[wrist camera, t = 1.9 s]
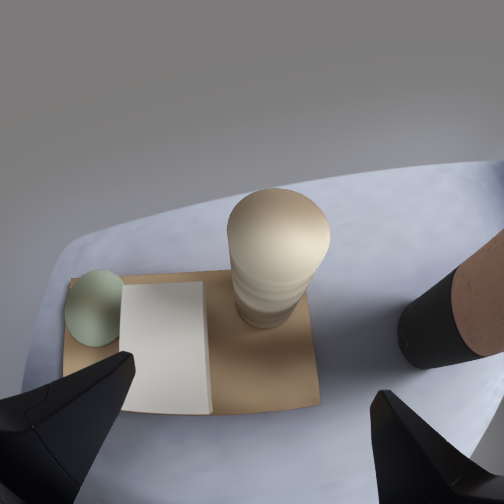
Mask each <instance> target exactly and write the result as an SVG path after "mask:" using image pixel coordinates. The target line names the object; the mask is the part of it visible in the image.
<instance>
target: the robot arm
mask: <svg viewBox="0 0 504 504" xmlns="http://www.w3.org/2000/svg"><path fill="white" fill-rule="evenodd" d="M135 373H136V367H135V361H134V355H133V354H132V353H130V352H127V351H120V352H118V353H116V354H114V355H112V356H109V357H107V358H105V359H103V360H101V361H98V362H96V363H94V364H92V365H90V366H87V367H85V368H83V369H81V370H78V371H76V372H74V373H72V374H69V375H67V376H65V377H63V378H60V379H58V380H56V381H53V382H51V383H50V384H46V385H44V386H41V387H39V388H36V389H34V390H31V391H28V392H25V393H22V394H19V395H15V396H12V397H8V398H4V399H1V400H0V504H73V503H74V500H75V498H76V496H77V494H78V492H79V490H80V488H81V486H82V484H83V482H84V479H85V477H86V475H87V473H88V471H89V469H90V467H91V465H92V464H93V462H94V460H95V458H96V456H97V454H98V452H99V450H100V448H101V446H102V444H103V442H104V440H105V438H106V436H107V435H108V433H109V431H110V429H111V427H112V425H113V423H114V421H115V420H116V418H117V416H118V414H119V412H120V410H121V408H122V406H123V404H124V402H125V399H126V396H127V394H128V391H129V389H130V386H131V384H132V381H133V379H134V377H135ZM370 419H371V440H372V449H373V456H374V463H375V470H376V478H377V487H378V496H379V504H504V476H499V475H494V474H491V473H489V472H488V471H486V470H485V469H483V468H481V467H480V466H479V465H477V464H476V463H474V462H473V461H471V460H470V459H469V458H467V457H466V456H465V455H463V454H462V453H461V452H460V451H458V450H457V449H456V448H455V447H454V446H452V445H451V444H450V443H449V442H447V441H446V439H444V438H443V437H442V436H441V435H440V434H439V433H438V432H436V431H435V430H434V429H433V428H432V427H431V426H430V425H429V424H427V423H426V422H425V421H424V420H423V419H422V418H421V417H420V416H418V415H417V414H416V413H415V412H414V411H413V410H412V409H411V408H410V407H408V406H407V405H406V404H405V403H404V402H403V401H402V400H401V399H399V398H398V397H397V396H396V395H395V394H394V393H393V392H392V391H390V390H380V391H378V393H377V395H376V396H375V398H374V400H373V402H372V404H371V406H370Z"/></svg>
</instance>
